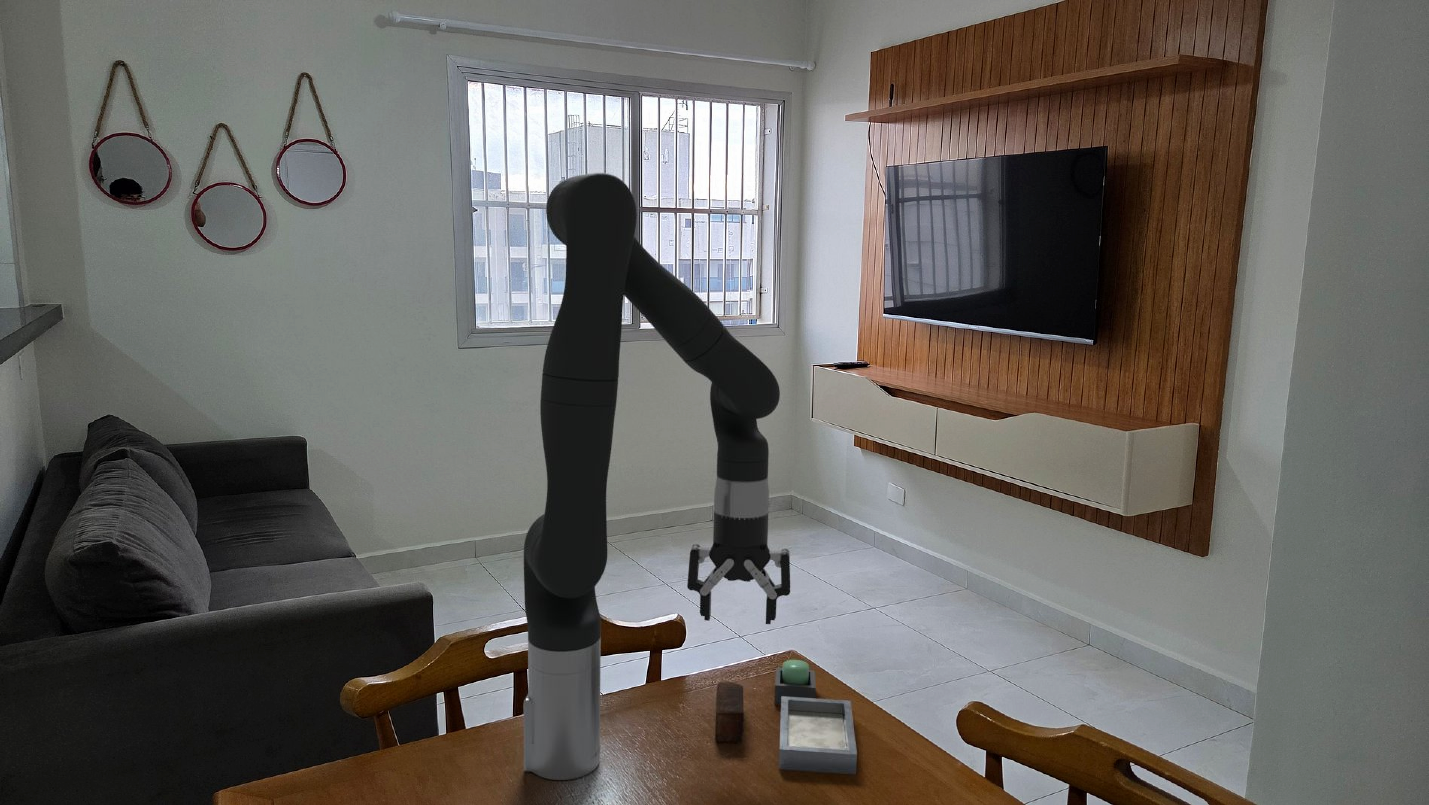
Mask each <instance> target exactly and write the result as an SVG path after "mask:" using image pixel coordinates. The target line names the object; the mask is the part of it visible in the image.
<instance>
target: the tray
mask: <svg viewBox="0 0 1429 805" xmlns="http://www.w3.org/2000/svg"><path fill="white" fill-rule="evenodd" d="M852 711H853V710H852V702H851V700H842V699H830V698H829V699H828V698H816V697H815V698H800V697H785V696H781V705H780V720H779V721H780V724H779V727H780V728H779V750H778V752H779V753H778V754H779V755H778V770H784V771H785V770H787V771H788V770H789V771H799V772H813V773H815V772H816V773H828V774H829V773H830V774H841V775H842V774H844V775H854V776H856V775H857V762H858V761H857V760H858V751H857V744H856V736H855V735H856V734H855V727H854V719H853V712H852Z"/></svg>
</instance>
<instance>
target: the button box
mask: <svg viewBox="0 0 1429 805" xmlns="http://www.w3.org/2000/svg"><path fill="white" fill-rule="evenodd" d="M782 668H783V667H782ZM782 668H779V667H776V668H775V678H774V679H775V680H774V683H775V684H774V705H779V706H781V696H785V697H800V698H816V687H817V686H816V672H815V670H816V669H815V670H813V669H809V680H808V684H807V685H795V684H784V683H783V682H782Z"/></svg>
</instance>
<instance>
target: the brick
mask: <svg viewBox="0 0 1429 805" xmlns="http://www.w3.org/2000/svg"><path fill="white" fill-rule="evenodd" d="M744 710H745V709H744V686H743V685H741V684H738V683H735V682H731V681H724V682H723V681H720V682H718V683H717V685H716V694H715V720H714V721H715V722H714V724H715V725H714V726H715V728H714V729H715V730H714V736H715V737H714V740H715V742H716V743H719V744H720V743H726V744H727V743H728V744H740V742H741V741H742V738H743V735H744V730H745V729H744V728H745V727H744V723H745V719H744V716H745V715H744V714H745V712H744Z"/></svg>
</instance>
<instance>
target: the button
mask: <svg viewBox="0 0 1429 805" xmlns="http://www.w3.org/2000/svg"><path fill="white" fill-rule="evenodd" d="M809 670H810V664H809V663H808V662H806V661H804V660H801V659H800V660H799V659H788V660H786V661H784V662H783V663H782V682H783V683H784V684H795V685H807V684H808V680H809Z"/></svg>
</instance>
